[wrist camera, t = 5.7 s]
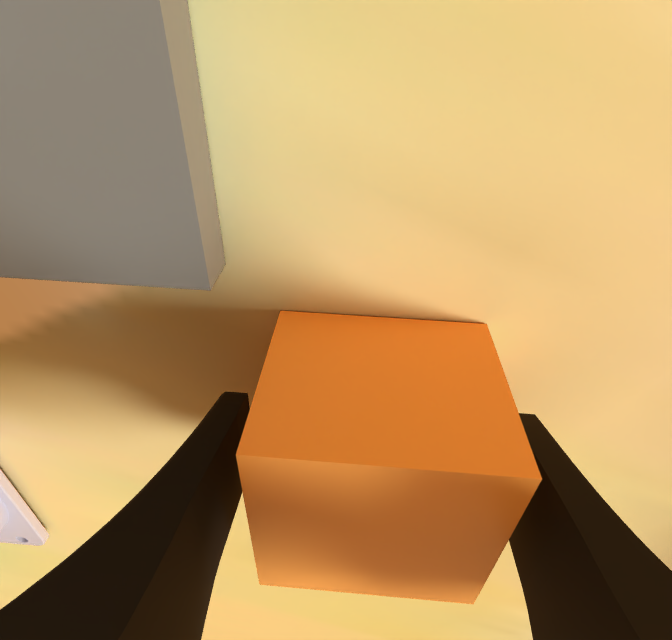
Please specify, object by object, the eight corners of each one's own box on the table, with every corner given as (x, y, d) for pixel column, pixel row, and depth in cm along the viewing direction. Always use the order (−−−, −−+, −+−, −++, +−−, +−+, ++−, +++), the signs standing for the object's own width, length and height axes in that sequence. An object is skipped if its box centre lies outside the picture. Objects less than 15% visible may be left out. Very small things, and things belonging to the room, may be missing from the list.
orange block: (288, 439, 14) (259, 584, 11) (280, 310, 11) (235, 454, 8) (448, 452, 14) (473, 604, 11) (486, 323, 11) (542, 479, 7)
